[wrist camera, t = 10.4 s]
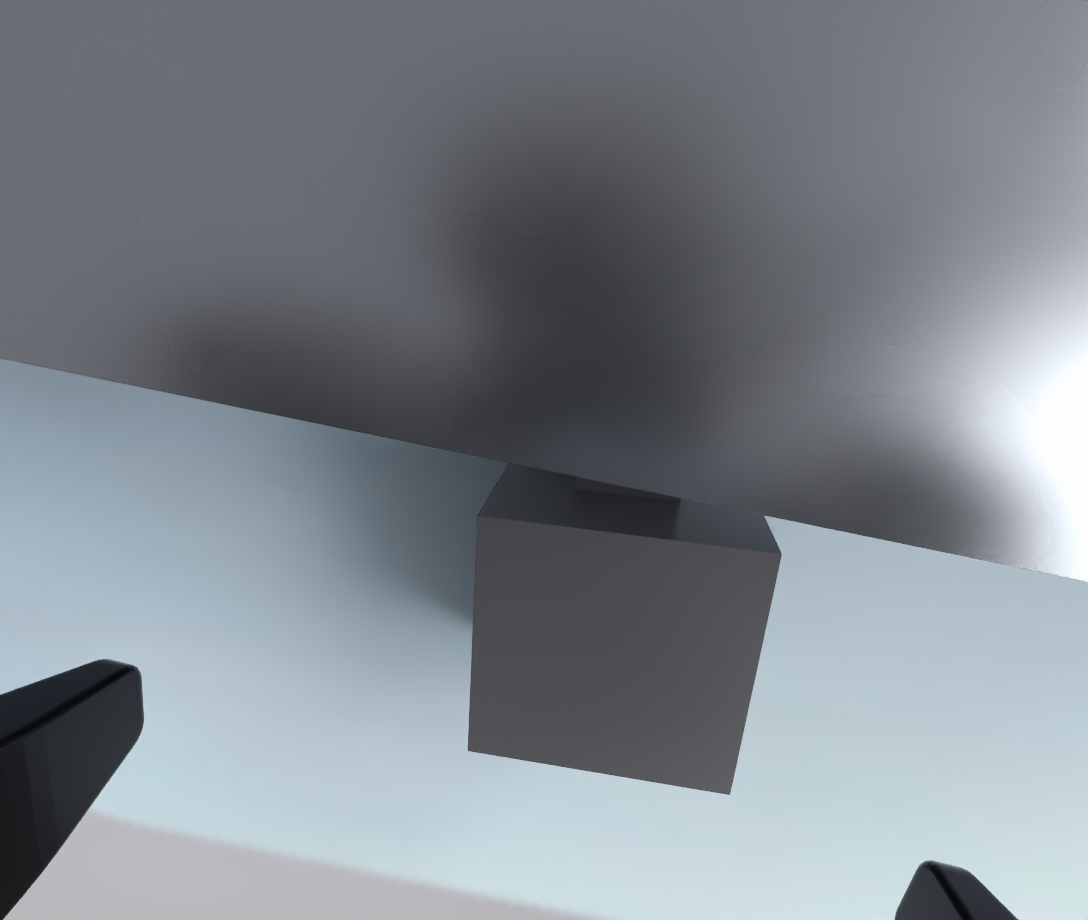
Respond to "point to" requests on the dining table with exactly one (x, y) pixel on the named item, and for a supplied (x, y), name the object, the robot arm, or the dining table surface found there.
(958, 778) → the dining table surface
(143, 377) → the plate
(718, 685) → the plug
